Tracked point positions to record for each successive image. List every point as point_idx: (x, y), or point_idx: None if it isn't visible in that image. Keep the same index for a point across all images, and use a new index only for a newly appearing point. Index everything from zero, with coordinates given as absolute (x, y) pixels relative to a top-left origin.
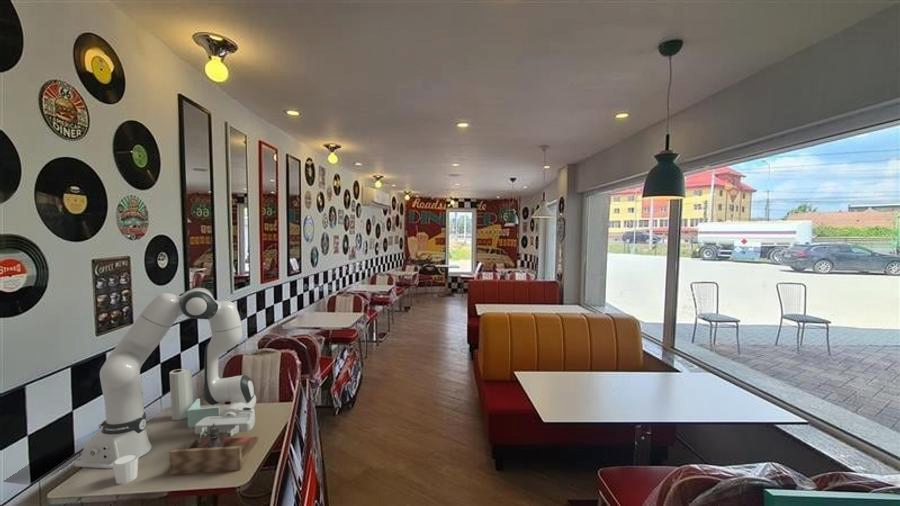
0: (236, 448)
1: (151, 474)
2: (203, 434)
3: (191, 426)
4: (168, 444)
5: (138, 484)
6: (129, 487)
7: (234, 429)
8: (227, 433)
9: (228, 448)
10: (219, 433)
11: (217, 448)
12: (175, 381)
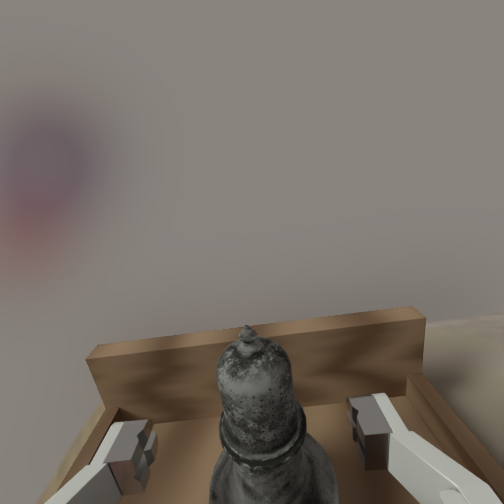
0: (110, 344)
1: (499, 391)
2: (354, 399)
3: None
4: None
5: (458, 345)
6: (467, 334)
7: (77, 476)
8: (149, 421)
9: (145, 340)
10: (230, 453)
11: (196, 338)
12: None
